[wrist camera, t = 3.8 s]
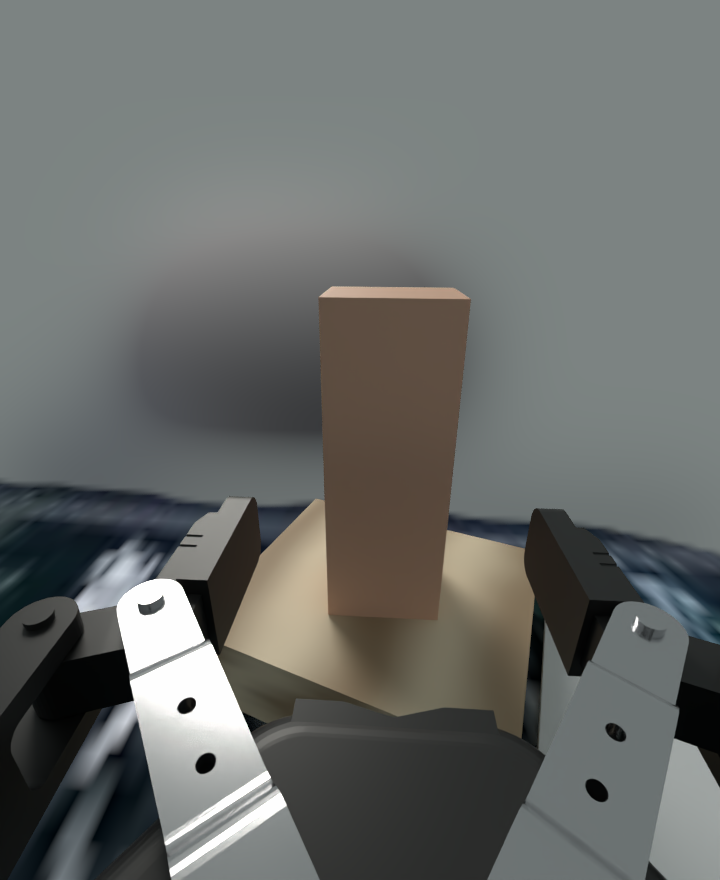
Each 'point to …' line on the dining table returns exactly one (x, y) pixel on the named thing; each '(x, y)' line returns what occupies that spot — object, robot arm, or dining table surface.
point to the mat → (684, 795)
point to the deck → (382, 635)
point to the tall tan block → (389, 443)
